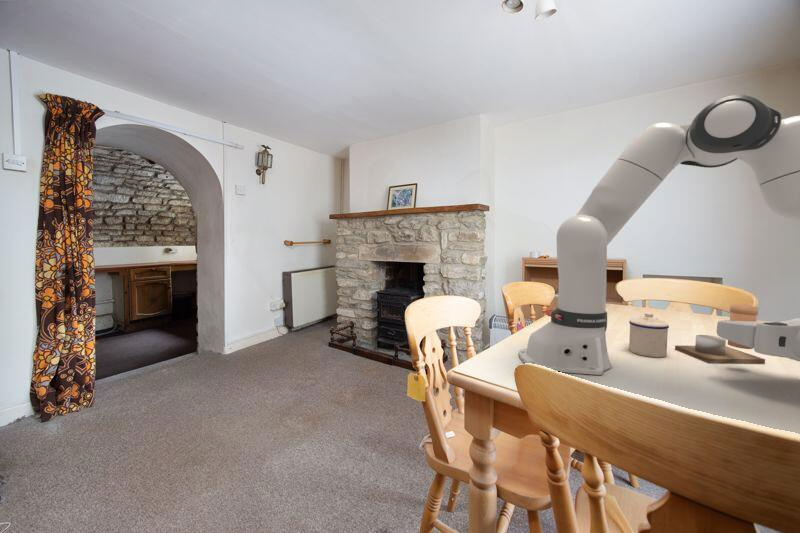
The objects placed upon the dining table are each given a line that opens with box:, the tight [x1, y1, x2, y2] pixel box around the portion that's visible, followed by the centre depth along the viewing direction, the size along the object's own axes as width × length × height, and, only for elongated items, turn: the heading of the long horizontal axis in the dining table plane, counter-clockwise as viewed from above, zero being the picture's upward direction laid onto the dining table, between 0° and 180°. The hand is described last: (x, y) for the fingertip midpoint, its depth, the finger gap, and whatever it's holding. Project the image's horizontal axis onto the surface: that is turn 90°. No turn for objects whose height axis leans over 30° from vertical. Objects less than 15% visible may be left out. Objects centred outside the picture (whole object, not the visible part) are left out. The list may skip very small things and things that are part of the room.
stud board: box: [674, 334, 766, 365], centre depth 89 cm, size 14×11×5 cm
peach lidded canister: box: [727, 304, 759, 350], centre depth 79 cm, size 5×5×10 cm
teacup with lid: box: [628, 312, 670, 358], centre depth 93 cm, size 12×9×12 cm
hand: (738, 323), depth 80 cm, fingers closed on peach lidded canister, 4 cm apart
